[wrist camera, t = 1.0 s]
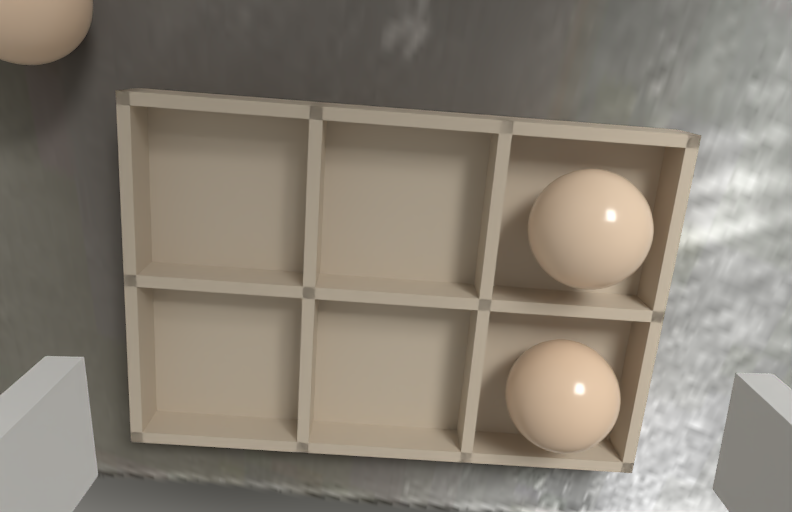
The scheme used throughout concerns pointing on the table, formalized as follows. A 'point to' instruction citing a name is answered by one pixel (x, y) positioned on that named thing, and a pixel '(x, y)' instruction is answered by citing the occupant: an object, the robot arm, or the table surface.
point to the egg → (42, 29)
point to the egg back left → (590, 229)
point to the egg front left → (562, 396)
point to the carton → (370, 274)
